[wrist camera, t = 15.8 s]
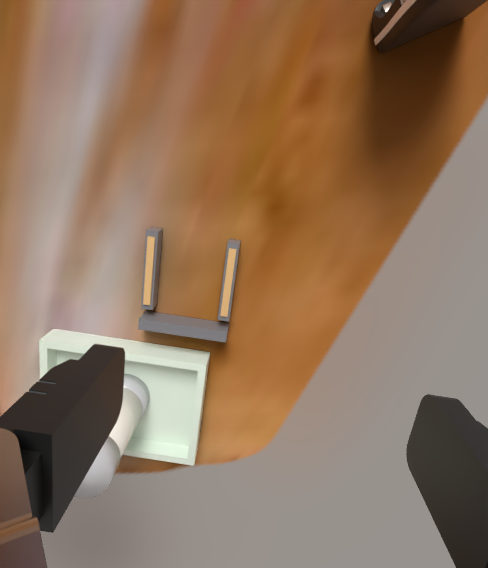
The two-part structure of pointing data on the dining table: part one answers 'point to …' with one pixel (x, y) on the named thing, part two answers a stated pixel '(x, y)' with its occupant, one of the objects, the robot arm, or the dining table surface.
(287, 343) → the dining table surface
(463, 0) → the dark grey block
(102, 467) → the fuse
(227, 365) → the dining table surface
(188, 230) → the dining table surface
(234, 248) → the grey u-shaped bracket
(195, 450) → the parts tray
